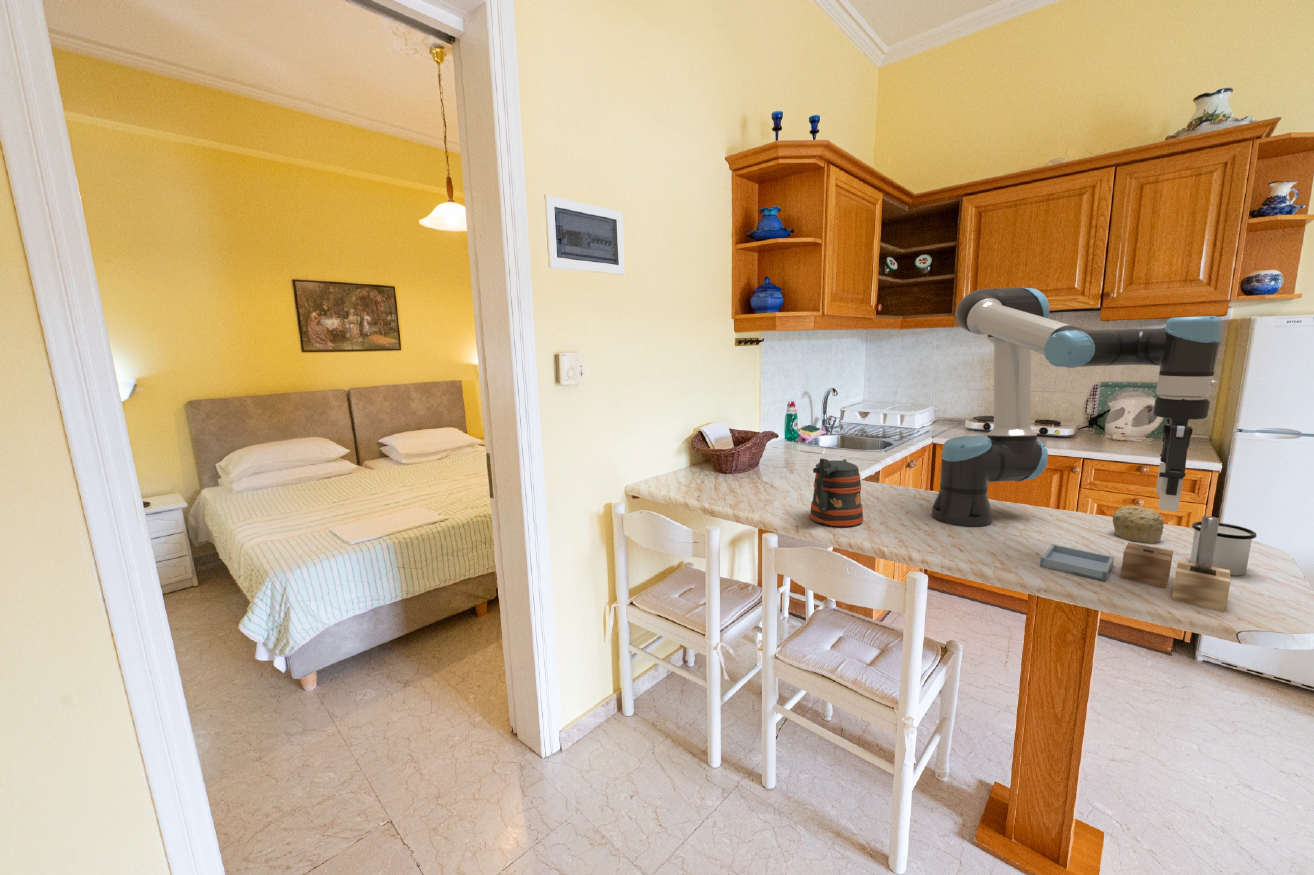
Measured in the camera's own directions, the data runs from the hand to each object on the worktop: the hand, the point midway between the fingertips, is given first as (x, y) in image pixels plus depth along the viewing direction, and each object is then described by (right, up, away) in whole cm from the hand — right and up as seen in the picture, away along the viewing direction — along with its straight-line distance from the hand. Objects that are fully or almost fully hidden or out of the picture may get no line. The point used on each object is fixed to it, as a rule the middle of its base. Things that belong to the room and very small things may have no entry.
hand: (1165, 501), depth 104 cm
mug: (+20, -15, +9) cm, 27 cm away
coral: (+19, -13, +27) cm, 35 cm away
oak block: (+2, -18, -5) cm, 19 cm away
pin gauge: (+2, -17, -5) cm, 18 cm away
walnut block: (0, -17, +5) cm, 17 cm away
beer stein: (-52, -12, +45) cm, 70 cm away
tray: (-9, -16, +11) cm, 21 cm away
